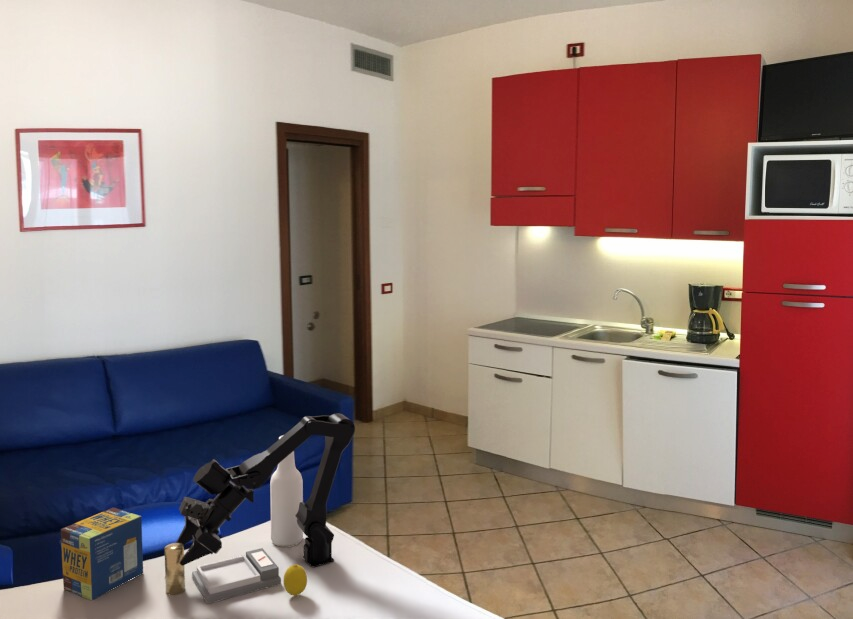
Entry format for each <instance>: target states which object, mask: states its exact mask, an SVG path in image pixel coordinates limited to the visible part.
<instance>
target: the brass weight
mask: <svg viewBox="0 0 853 619" xmlns="http://www.w3.org/2000/svg"><path fill="white" fill-rule="evenodd" d="M184 546H185V545H183V544H181V543H176V542H172V543H169V544H167V545H166V546H164V575H165V578H164V580H165V593H166V594H167V595H169V594H170V595H169V596H176V595H175V594H177V595H180V594H182V593H183V591H184V592H185V590H186V581H185V580H186V578H185V576H186V575H185V565H183V566H182V565H181V564H180V561H181V559H182V558H183V556H184V555H185V547H184ZM181 592H182V593H181Z"/></svg>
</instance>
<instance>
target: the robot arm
mask: <svg viewBox="0 0 853 619" xmlns="http://www.w3.org/2000/svg"><path fill="white" fill-rule="evenodd" d="M355 432H356V426H355V424H354V422H353V421H352V420H351V419H349V417H347V416H345V415H344V414H342V413H339V412H338V413H337V412H336V413H333V414H331V415H315V416H310V415H305V416H304V417H302V418H301V420H300V421H298V423H297V424H296V425H295V426H292V428H291V429H290V430H288V431H287V432H285V434H283V435H284V436H283V435H282V436H283V437H281V438H280V439H279V438H278V440H276V442H274V443H273V444H272V445H271V446H269V447H268V448H267V449H266V450H263V451H262V452H260V453H257V454H254V455H252V456H251V457H249V458H247V459H246V460H244V461H243V462H242V463H241V464H239V465H235V466H232V467H228V468H224V467H223V466H222V465H221V464H219V462H218V461H217V460H216V459H215V458H214V459H212V460H211V461H210V462H207V463H205V464H204V465H203V466H200V467H199V469H198V470H197V471H196V473H195V474H194V476H193V480H192V481H193V482H194V483H195V484H197V486H199V487H201V489H203V490H204V491H206V492H207V494H209V495H210V496H213V495H216V496H215V497H214V498H209V499H208V498H207V500H206V501H205V502H204V501H202V500H198V499H195V498H191V497H188V496H184V497H183V499H182V501H181V504H180V505H179V507H178V510H179V511H180V513H179V514H180V515H181V516H183V517H184V525H183V527H182V528H183V529H182V530H181V532H180V534H179V535H178V538H177V540H175V541H176V542H175V543H181V544H183V545H184V546H186V544H188V543H190V542H191V541H192V544H191V546H190V547H189V548H188V549H187V551H186V552H185V553H184V556H183V558H182V559H181V561H180V564H181V565H182V566H183V565H184V566H185V565H187V564H190V563H192V562H194V561H197V560H198V559H201V558H203V557H205V556H206V557H207V556H209V555H214V554H215V555H216V554H218V553H219V552H220V550H221V549H222V548H223V542H222V540H221V538H220V536H219V535H218V534H219V533H220V528H221V527H222V526H223V525H224V523H225V522H226V521H227V522H230V521H231V520H232V514H233V513H234V512H235V511H236V510H237V509H238V508H239V507H240V505H241V504H242V503H243V502H244V501H245V500H248V501H249V502H250V503H254V502H255V498H254V494H255V492H254V490H257V489H260V488H262V486H263V485H264V484H265V483H266V482H267V481H268V480H269V478H271V477H272V475H273V473H274V472H275V471H274V470H275V468H277V467H278V464H279V463H280V462H281V461H282V460H284V459H285V458H286V457H287V456H288V455H289V454H291V453H292V452H293V451H294V452H295V451H296V450H297V449H298V448H299V447H300V446H301V445H302V444H304V443H305V442H306V441H307V440H308V439H309V438H310V437H312V436H313V435H316V436H323V437H324V449H323V453H322V456H321V459H320V462H319V466H318V469H317V473H316V476H315V479H314V482H313V485H312V489H311V492H310V496H309V498H308V499H307V500H306V502H303V503H302V502H300V504H299V510H298V512H297V514H296V515H295V516H296V517H297V524H298V526H299V527H300V528H301V530H302V531H303V535H305V537H304V538H305V539H304V540H305V541H304V544H303V548H302V549H303V556H302V559H303V560H305V562H306V563H307V564H308V565H309V566H310V567H311V568H315V567H319V566H323V565H326V564H330V563H333V562H335V559H334V557H333V556H332V554H333V553H332V552H333V551H332V548H333V546H332V543H333V541H334V537H335V534H334V533H333V531H331V530H330V527H328V526H327V519H328V517H327V516H328V511H327V502H328V499H329V496H330V492H331V490H332V487H333V484H334V480H335V477H336V473H337V470H338V468H339V463H340V460H341V458H342V454H343V451H344V450H346V448H347V447H348V446H349V445H350V443H351V440H352V439H353V436H354V434H355Z"/></svg>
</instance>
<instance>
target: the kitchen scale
mask: <svg viewBox="0 0 853 619" xmlns="http://www.w3.org/2000/svg"><path fill="white" fill-rule="evenodd" d="M279 570H280V569H279V566H278V564H277V563H275V561H274V559H272V558H271V556H270V555H269V554H268V553H267V552H266V550H265V549H264V548H263V547H261V548H257V549H252V550H249V551H246V552H245V554H243V555H240V556H239V555H238V556H234V557H230V558H227V559H221V560H218V561H213V562H210V563H205V564H201V565H196V570H193V571H191V572H192V573H191V576H192V580H193V582H194V581H195V582H194V583H195V584H196V586H198V587H197V589H198V590H199V592H200V593H201V595H202V597H203V599H204V598H205V599H204V601H205V602H206V604H212V603H216V602H219V601H222V600H227V599H230V598H234V597H238V596H242V595H245V594H248V593H253V592H257V591H260V590H264V589H268V588H273V587H276V586H279V585H282V577H281V576H280V573H279V572H280V571H279Z"/></svg>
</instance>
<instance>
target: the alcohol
mask: <svg viewBox="0 0 853 619" xmlns="http://www.w3.org/2000/svg"><path fill="white" fill-rule="evenodd" d="M284 435H285V434H283V435H280V436H279V437H278V440H279V439H280V438H281V437H283V436H284ZM295 462H296V461H295V450H294V451H293V452H292V453H291V454H289V455H288V456H287V457H286V458H285V459H284V460H282V461H281V462H280V463H279V464H278V465H277V466H276V470H275V471H273V473H272V474H271V476H270V481H269V482H270V484H269V486H270V487H269V488H270V489H269V490H270V491H269V492H270V540H271V542H272V543H273V545H275V546H277V547H282V548H289V546H290V547H294V546H296V544H297V545H298V544H300V543H301V542H302V540H303V538H304V532H303V531H302V530H301V528H300V527H299V526H298V524H297V517H296V516H295V515H296V514H297V512H298V510H299V504H300V502H302V503H304V497H303V496H304V493H303V492H304V491H303V490H304V488H303V485H304V484H303V481H304V480H303V477H302V473H301V472H300V471H299V470H298V469H297V467H296V463H295ZM299 542H300V543H299ZM293 545H294V546H293Z"/></svg>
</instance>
